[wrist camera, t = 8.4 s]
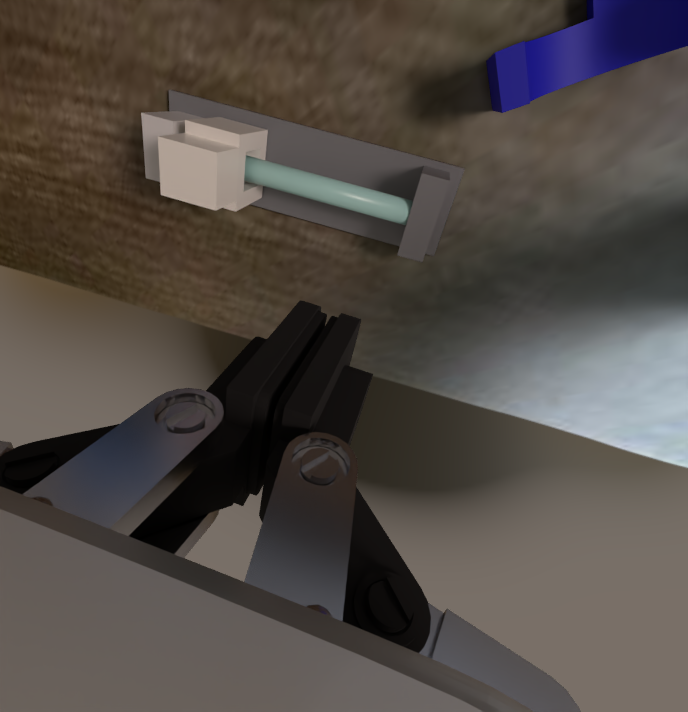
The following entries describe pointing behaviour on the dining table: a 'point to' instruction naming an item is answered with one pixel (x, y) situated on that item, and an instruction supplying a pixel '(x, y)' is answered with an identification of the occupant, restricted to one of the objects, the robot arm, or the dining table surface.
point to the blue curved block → (586, 49)
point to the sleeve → (211, 163)
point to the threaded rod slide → (329, 176)
